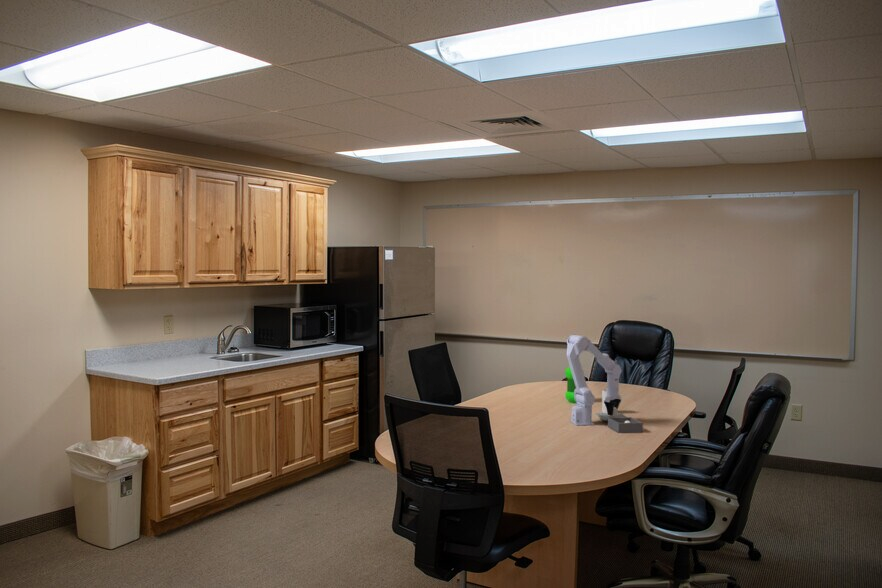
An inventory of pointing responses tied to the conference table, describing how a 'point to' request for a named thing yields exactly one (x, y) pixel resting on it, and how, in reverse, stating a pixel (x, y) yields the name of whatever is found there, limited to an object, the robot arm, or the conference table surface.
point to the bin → (625, 425)
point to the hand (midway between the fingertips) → (612, 414)
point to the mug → (604, 394)
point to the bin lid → (606, 416)
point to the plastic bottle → (570, 386)
